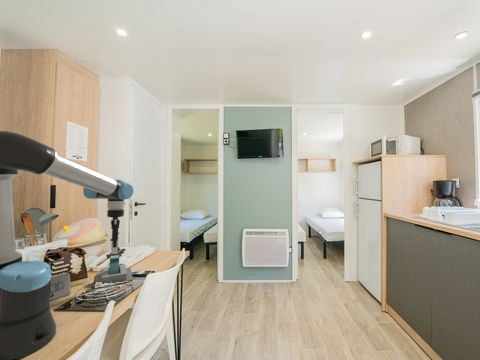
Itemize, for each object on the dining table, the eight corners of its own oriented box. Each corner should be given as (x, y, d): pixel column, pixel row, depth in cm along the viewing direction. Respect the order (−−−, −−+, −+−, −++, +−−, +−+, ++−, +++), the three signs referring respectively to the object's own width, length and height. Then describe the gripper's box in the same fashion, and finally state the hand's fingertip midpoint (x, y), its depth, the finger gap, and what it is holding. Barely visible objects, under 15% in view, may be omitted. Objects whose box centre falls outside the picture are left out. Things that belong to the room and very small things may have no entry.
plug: (118, 276, 110) (119, 257, 110) (109, 278, 108) (109, 258, 108) (118, 274, 114) (119, 255, 114) (109, 275, 112) (110, 256, 112)
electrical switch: (42, 303, 87) (42, 280, 88) (39, 300, 90) (40, 278, 91) (71, 294, 94) (71, 273, 95) (67, 292, 97) (67, 271, 98)
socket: (132, 281, 107) (133, 273, 107) (94, 289, 99) (94, 280, 99) (130, 269, 123) (130, 262, 123) (96, 275, 115) (97, 267, 115)
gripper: (125, 211, 103) (123, 255, 102) (123, 207, 125) (121, 243, 124) (106, 211, 99) (104, 258, 98) (107, 207, 121) (106, 245, 120)
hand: (114, 250), depth 111 cm, fingers open, 13 cm apart
